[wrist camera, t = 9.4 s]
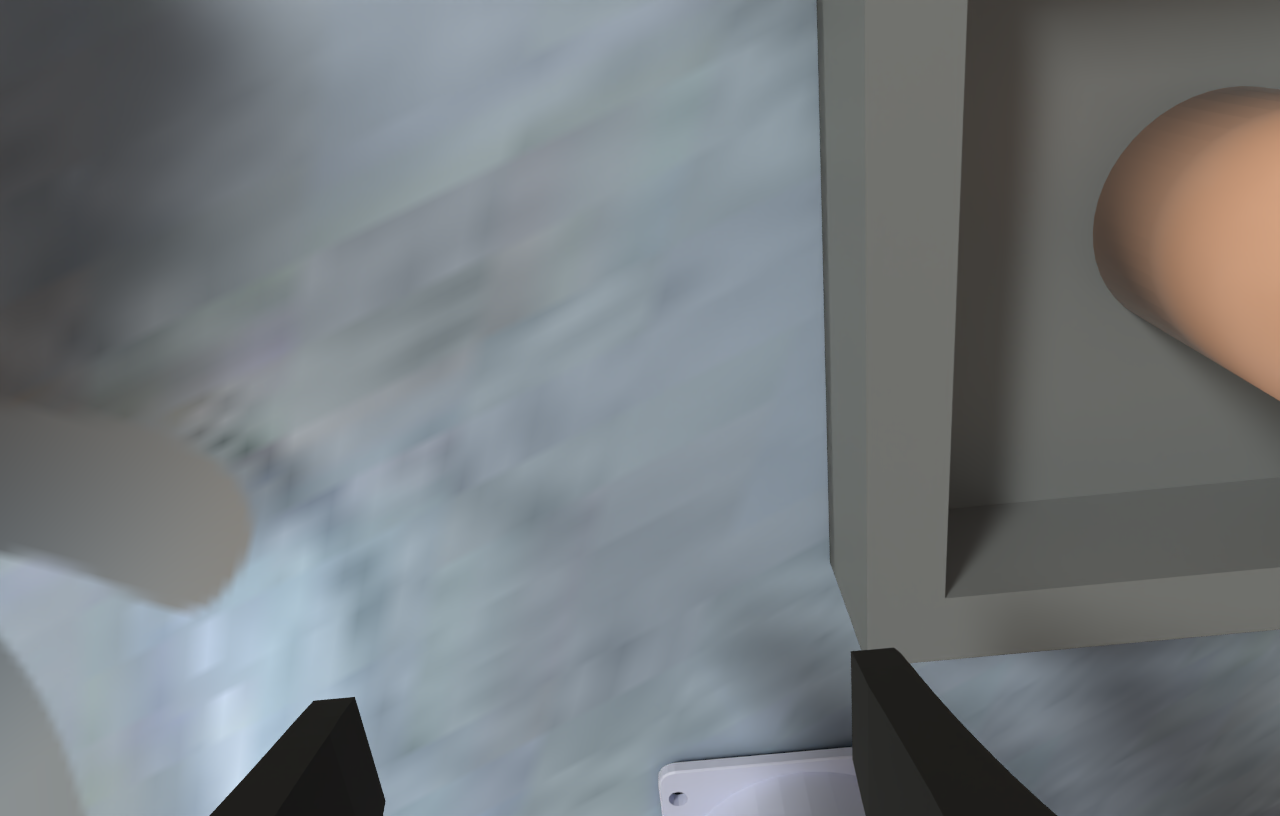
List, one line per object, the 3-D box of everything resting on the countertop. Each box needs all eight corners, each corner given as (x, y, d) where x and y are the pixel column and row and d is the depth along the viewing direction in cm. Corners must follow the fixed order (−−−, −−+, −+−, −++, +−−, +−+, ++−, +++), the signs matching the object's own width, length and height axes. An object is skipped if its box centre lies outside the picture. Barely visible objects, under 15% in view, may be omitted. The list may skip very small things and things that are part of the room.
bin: (1476, 500, 23) (1636, 596, 19) (830, 562, 23) (867, 666, 20) (1715, -281, 16) (2026, -358, 13) (812, -174, 17) (864, -218, 13)
